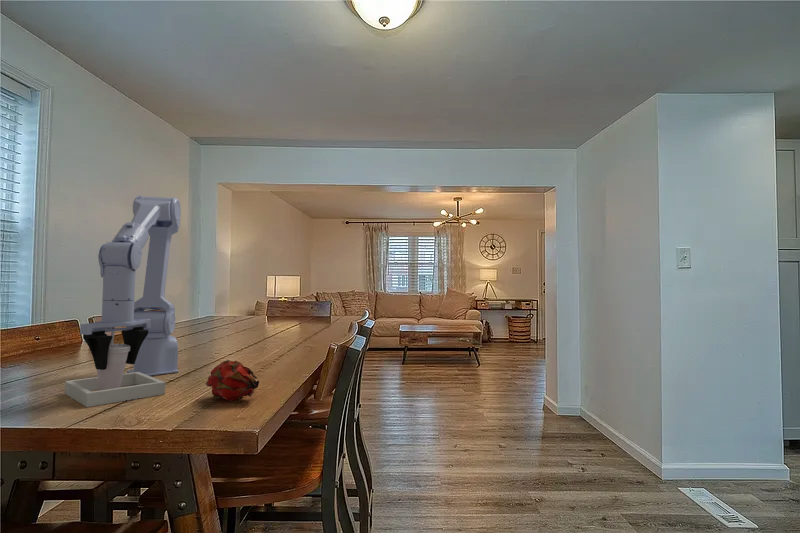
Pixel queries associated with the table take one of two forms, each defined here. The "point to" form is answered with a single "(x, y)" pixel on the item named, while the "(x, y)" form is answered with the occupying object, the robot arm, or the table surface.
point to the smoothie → (113, 366)
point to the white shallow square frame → (142, 389)
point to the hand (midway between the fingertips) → (116, 366)
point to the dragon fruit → (232, 381)
